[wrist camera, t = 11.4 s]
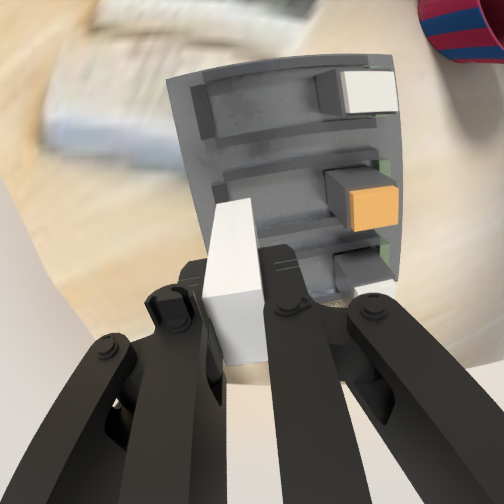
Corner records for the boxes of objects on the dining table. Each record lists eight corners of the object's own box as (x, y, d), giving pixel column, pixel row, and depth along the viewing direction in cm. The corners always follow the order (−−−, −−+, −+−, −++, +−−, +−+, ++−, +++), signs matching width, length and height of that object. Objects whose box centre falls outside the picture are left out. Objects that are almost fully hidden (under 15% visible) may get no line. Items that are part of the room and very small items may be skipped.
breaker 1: (315, 75, 15) (339, 67, 11) (361, 73, 15) (396, 67, 11) (321, 113, 16) (346, 117, 12) (366, 110, 16) (402, 114, 12)
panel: (170, 81, 16) (162, 78, 14) (381, 57, 16) (397, 53, 14) (225, 303, 24) (224, 322, 22) (390, 271, 24) (401, 286, 22)
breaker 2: (333, 255, 21) (354, 291, 17) (372, 247, 21) (399, 280, 17) (334, 283, 22) (353, 321, 18) (371, 275, 22) (395, 311, 18)
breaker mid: (324, 171, 18) (349, 191, 14) (368, 165, 18) (401, 184, 14) (327, 206, 19) (351, 235, 15) (370, 200, 19) (401, 227, 15)
